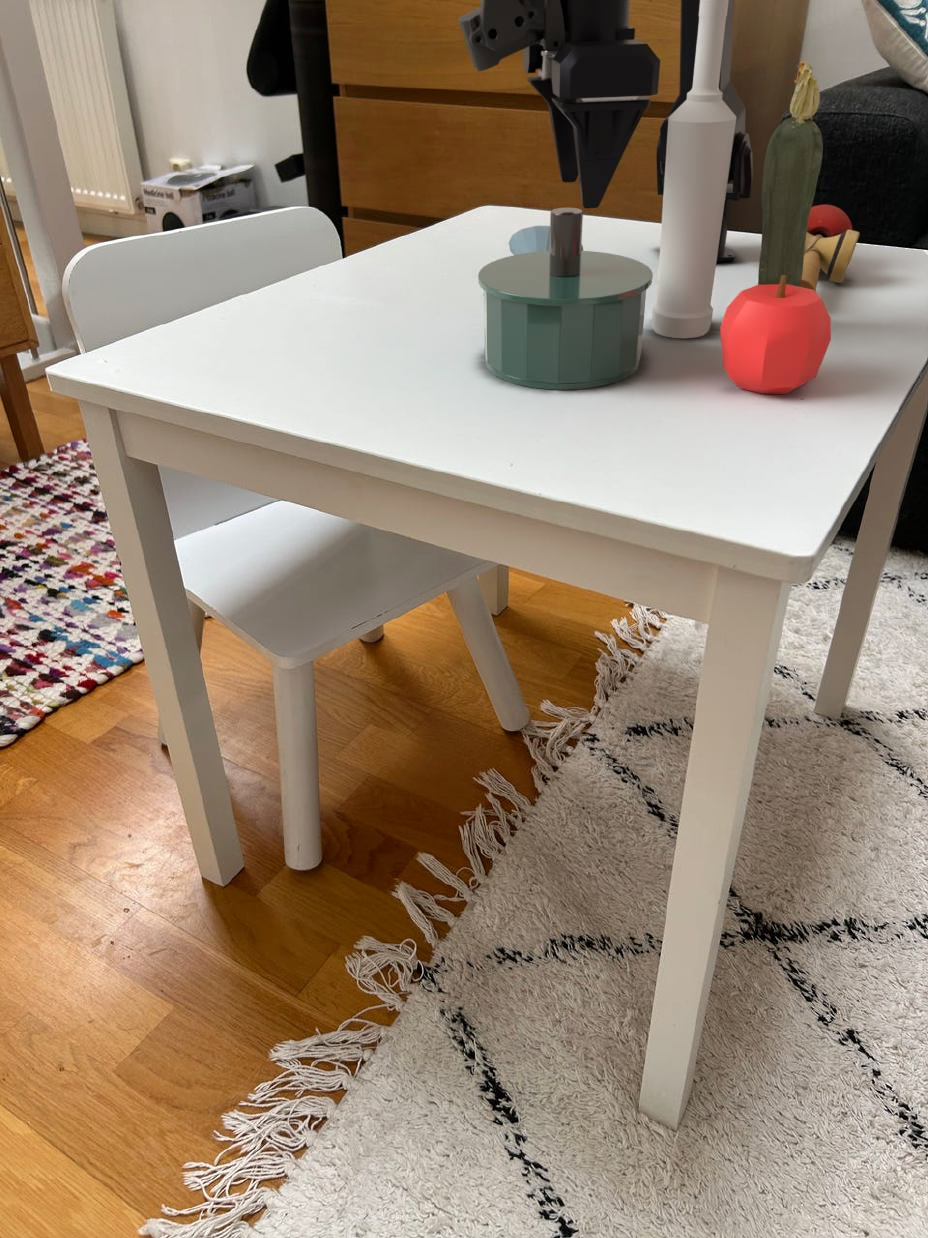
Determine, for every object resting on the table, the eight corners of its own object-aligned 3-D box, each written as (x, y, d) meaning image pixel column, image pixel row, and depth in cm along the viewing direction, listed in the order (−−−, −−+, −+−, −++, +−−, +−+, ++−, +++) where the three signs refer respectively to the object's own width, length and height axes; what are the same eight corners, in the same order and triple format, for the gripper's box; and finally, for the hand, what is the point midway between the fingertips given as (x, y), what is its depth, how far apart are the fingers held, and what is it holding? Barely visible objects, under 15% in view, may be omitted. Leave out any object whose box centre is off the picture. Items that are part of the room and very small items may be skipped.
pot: (479, 339, 83) (478, 261, 79) (621, 331, 83) (627, 254, 80) (493, 393, 73) (492, 307, 69) (654, 385, 73) (662, 299, 69)
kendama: (846, 329, 86) (866, 250, 98) (846, 260, 82) (866, 186, 94) (757, 335, 89) (786, 258, 101) (753, 269, 85) (784, 197, 97)
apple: (828, 371, 74) (849, 265, 70) (813, 410, 69) (835, 297, 64) (724, 359, 77) (738, 256, 73) (702, 395, 71) (715, 285, 67)
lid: (472, 267, 80) (470, 195, 77) (631, 260, 80) (636, 188, 77) (486, 318, 69) (485, 237, 66) (670, 309, 69) (678, 228, 66)
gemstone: (566, 260, 91) (574, 213, 91) (491, 265, 94) (499, 219, 94) (586, 302, 97) (593, 258, 98) (516, 305, 100) (523, 262, 101)
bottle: (717, 323, 84) (759, -17, 70) (703, 342, 81) (744, -14, 66) (659, 317, 86) (689, -16, 72) (643, 335, 82) (671, -13, 68)
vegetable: (795, 335, 81) (841, 64, 70) (742, 333, 82) (780, 65, 71) (791, 318, 85) (835, 58, 73) (741, 316, 86) (776, 59, 74)
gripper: (454, -61, 69) (460, 174, 78) (477, -64, 54) (481, 229, 63) (607, -66, 70) (596, 168, 79) (673, -70, 54) (649, 221, 63)
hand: (578, 193), depth 71 cm, fingers open, 9 cm apart
